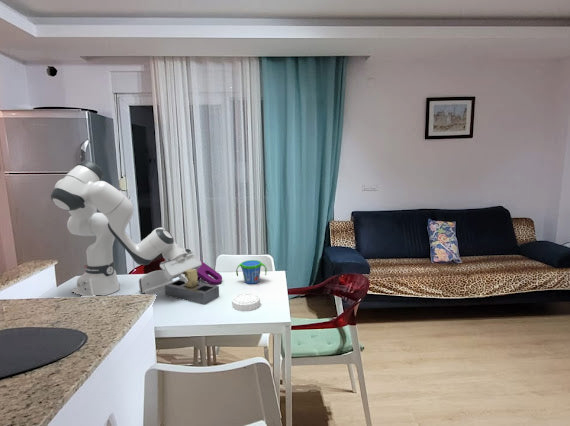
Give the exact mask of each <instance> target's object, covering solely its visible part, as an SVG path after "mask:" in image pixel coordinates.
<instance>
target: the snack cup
mask: <svg viewBox="0 0 570 426" xmlns="http://www.w3.org/2000/svg"><path fill="white" fill-rule="evenodd" d="M262 266H263V267H264V268H265V270H264V272H265V274H264V276H267V267H266V264H265V263H263V262H262V261H261V260H257V259H256V260H255V259H251V260H245V261H242V262H241V263H240V264H238V265H237V267H236V270H235V272H236V276H237V277H239V273H238V272H239V271H238V269H239V268H241V270H242V275H243V280H244V281H243V282H244V283H246V284H249V285H252V284H257V283H259V282H260V278H261V277H260V275H261V267H262Z"/></svg>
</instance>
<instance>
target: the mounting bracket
mask: <svg viewBox="0 0 570 426" xmlns="http://www.w3.org/2000/svg"><path fill="white" fill-rule="evenodd" d="M199 260H200V261H201V263H202V265H201V266H200V268H199V269H196V270H197V276H198V278H197V280H198V282H200V280H202V281H204V282H205V283H206V284H210V285H215V286H219V284H221V283H222V280H223V277H222V274H220V273H219V272H218V271H216V270H215V269H213V268H212V267H211V266H209V264H207V263H205V262H204V261H203V260H201V259H199Z"/></svg>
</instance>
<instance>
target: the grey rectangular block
mask: <svg viewBox="0 0 570 426" xmlns="http://www.w3.org/2000/svg"><path fill="white" fill-rule="evenodd" d="M164 291H165V292H164V293H165V296H166V295H168V296H167V297H170V296H171V297H172V298H175V299H179V298H180V299H179V300H183V299H184V301H187V300H188V301H189V302H193V303H196V304H200V305H201V304H202V305H207V304H208V303H210V302H212V301H214V300H216V299H217V298H219V297H220V286H219V285H211V284H208V283H206V282H205V283H204V282H200V281H198V286H197V287H195V288H192V289H191V288H186V287H185V282H184V281H183V280H181V279H180V278H179V279H177V280H174V281H173V282H172V283H169V284H167V285H165V289H164Z"/></svg>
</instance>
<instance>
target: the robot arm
mask: <svg viewBox="0 0 570 426" xmlns="http://www.w3.org/2000/svg"><path fill="white" fill-rule="evenodd" d="M103 178H104V171H103V169H102V168H101V167H100V166H99V165H98V164H96V163H95V162H94V161H90V160H82V161H80V162H78V163H77V164H76V165H75V167H73V168H72V169H70V171H69V172H68V173H66V175H65V176H64V178H61V179H59V180H58V181H57V182H56V183H55V185H54V189H52V192H51V194H50V199H51V202H52V203H53V204H54V205H55V206H57V207H58V208H60V209H61V210H63V211H64V210H65V211H67V212H68V213H69V214H70V216H69V218H68V220H67V222H66V228H67V230H68V232H69V233H70V234H71V235H74V236H82V237H94V236H95V237H96V238H95V239H96V240H95V242H93V243H92V244H90V245H88V247H87V249H86V250H85V252H86V254H85V255H86V260H87V261H86V262H87V264H86V265H84V266H83V268H84V269H85V270H84V271H85V272H84V273H83V274H82V275H80V277H78V278H77V280H76V287H74V288H73V289H71V293H72V292H74V293H73V294H75V293H77V294H80V295H83V296H93V295H102V296H107V295H110V294H114V293H116V292H117V291H119V290H120V285H121V284H120V282H119V281H118V275H117V271H116V270H115V268H116V264H115V261H114V256H113V255H114V253H113V246H114V243H115V240H117V242H118V243H119V244H120V245H121V246H122V247H123V248H124V250H125V251H126V252H127V253H128V254H129V256H130V257H131V258H132V259H133V261H134V262H135V263H136V264H137V265H140V266H146V265H147V266H148V265H150V263H151V262H152V261H154V259H155V258H157V257H158V256H159V255H160V254H161V255H162V257H163V259H164V261H161V262H160V263H159V267H160V270H162V271H163V273H164V275H165V277H166V278H167V279H168V280H172V281H173V280H174V279H176V278H179V279H181V280H183V281H184V282H185V283H188V282H189V281H190V280H189V278H188V277H187V278H186V277H185V275H184V272H185V271H186V270H189V269H199V268H200V266H201V265H202V263H201V261H202V260H201V259H200V258H199V257H198V256H197V255H196V254H195V253H193V252H194V251H193V249H192V248H182V247H180V246H179V245H178V244H177V242H176V239H175V238H174V237H173V236H172V234H171V233H170V232H169V230H166V229H165V228H164V227H157V228H155V229H154V230H152V231H151V233H149V234H148V235H147V236H146V237H145V238H143V239H142V240H141V241H140V242H138V243H135V242H134V240H133V239H132V238H130V236H129V235H128V233H127V232H126V228H127V226H128V224H129V223H130V222H131V220H132V216H133V215H134V204H133V203H132V202H131V200H130V199H129V198H128V197H127V196H126V194H124V193H123V192H121V191H120V190H119V189H118V188H116V187H115V186H113V185H112V184H110V183H109V182H107V181H104V180H103ZM97 210H98V211H99V212H97ZM200 260H201V261H200ZM197 278H198V276H197ZM77 294H76V295H77ZM80 295H79V296H80ZM83 296H82V297H83Z"/></svg>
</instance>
